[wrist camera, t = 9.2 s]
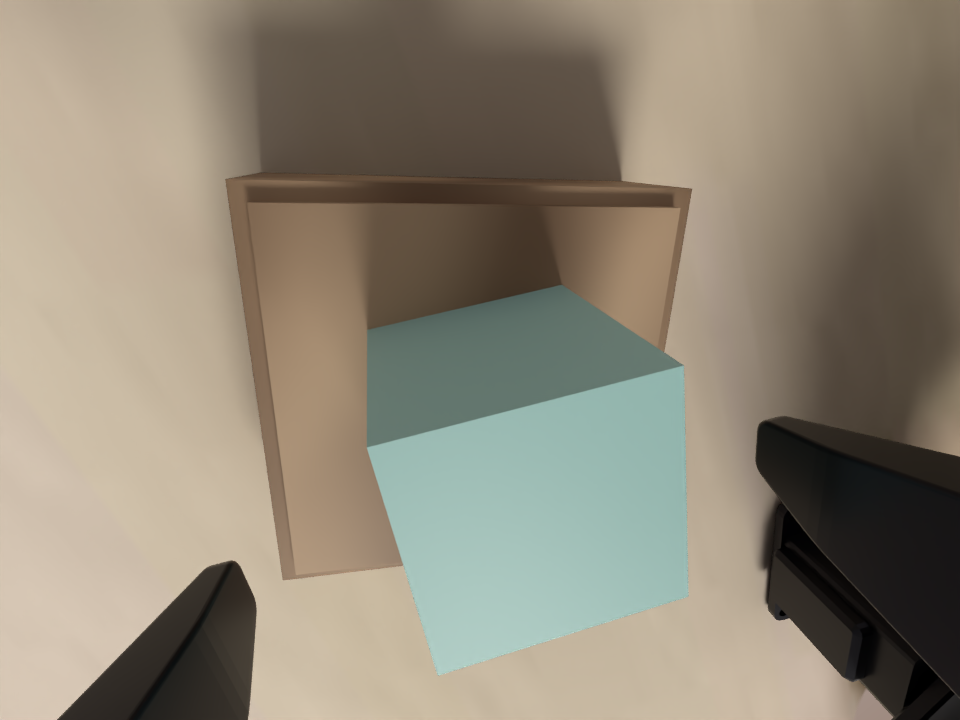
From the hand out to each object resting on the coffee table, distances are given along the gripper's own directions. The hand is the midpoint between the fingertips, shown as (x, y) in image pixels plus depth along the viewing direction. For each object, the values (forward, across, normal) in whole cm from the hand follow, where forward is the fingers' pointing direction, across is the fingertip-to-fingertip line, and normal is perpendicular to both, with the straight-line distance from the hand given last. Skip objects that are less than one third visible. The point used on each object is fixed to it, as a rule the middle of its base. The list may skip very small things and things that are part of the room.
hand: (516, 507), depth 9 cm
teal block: (+4, 0, 0) cm, 4 cm away
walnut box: (+8, 0, 0) cm, 9 cm away
